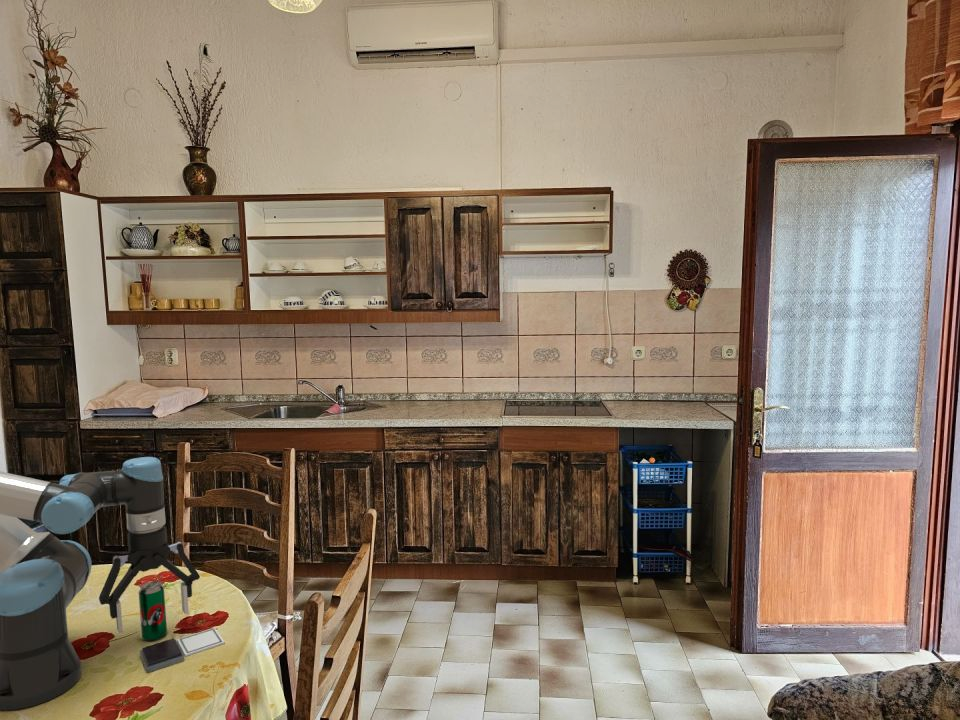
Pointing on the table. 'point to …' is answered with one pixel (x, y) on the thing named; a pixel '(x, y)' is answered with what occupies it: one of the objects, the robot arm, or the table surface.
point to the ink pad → (161, 655)
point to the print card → (200, 641)
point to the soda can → (152, 610)
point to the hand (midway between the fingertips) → (153, 621)
